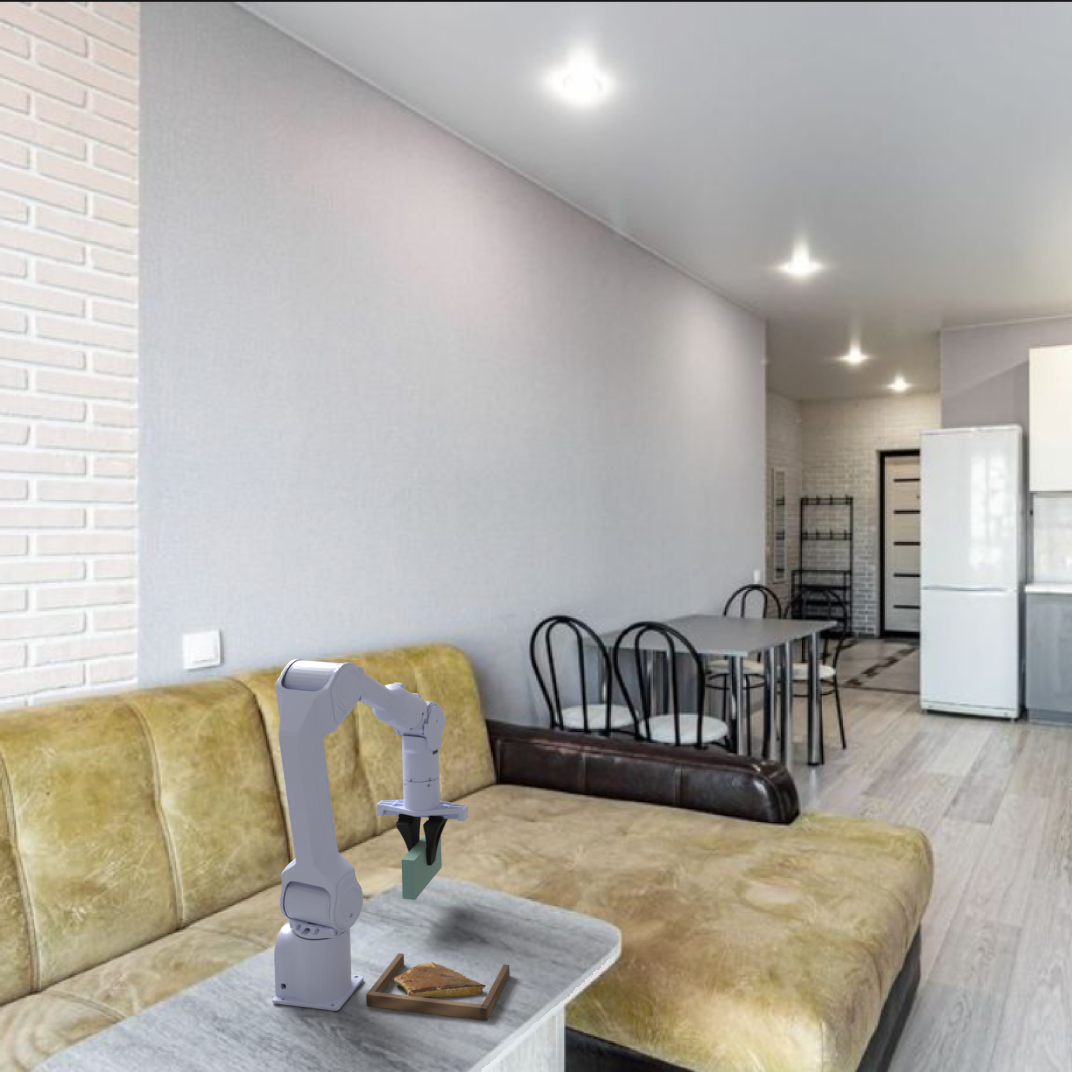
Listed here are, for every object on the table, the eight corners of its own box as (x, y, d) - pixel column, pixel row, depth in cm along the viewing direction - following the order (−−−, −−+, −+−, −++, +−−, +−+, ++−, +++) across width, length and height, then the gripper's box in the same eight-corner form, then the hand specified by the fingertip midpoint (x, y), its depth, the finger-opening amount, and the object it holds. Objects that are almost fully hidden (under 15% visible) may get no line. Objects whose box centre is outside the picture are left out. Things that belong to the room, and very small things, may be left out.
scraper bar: (415, 899, 133) (414, 860, 133) (402, 898, 133) (401, 859, 133) (441, 867, 144) (440, 831, 144) (430, 866, 145) (429, 830, 145)
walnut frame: (366, 1005, 114) (366, 994, 114) (398, 963, 125) (398, 953, 125) (486, 1020, 110) (486, 1008, 110) (509, 975, 121) (509, 964, 121)
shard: (486, 996, 117) (485, 982, 117) (444, 1022, 111) (443, 1008, 111) (430, 969, 124) (429, 957, 124) (387, 993, 118) (387, 980, 118)
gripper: (473, 771, 141) (475, 855, 141) (388, 767, 144) (390, 849, 145) (459, 785, 134) (461, 873, 135) (370, 780, 137) (372, 866, 138)
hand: (423, 862), depth 139 cm, fingers closed on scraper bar, 2 cm apart
